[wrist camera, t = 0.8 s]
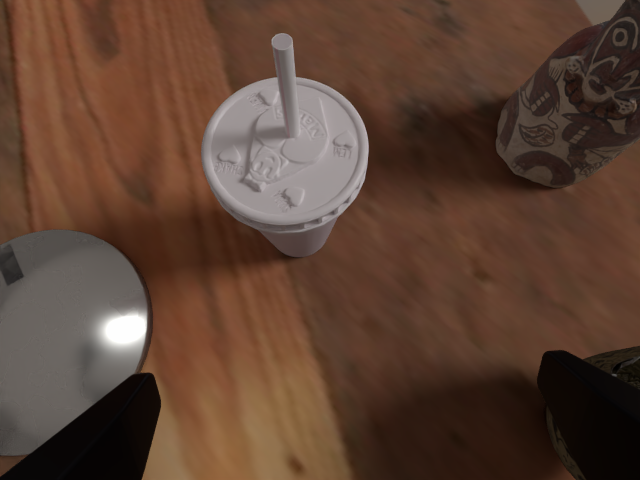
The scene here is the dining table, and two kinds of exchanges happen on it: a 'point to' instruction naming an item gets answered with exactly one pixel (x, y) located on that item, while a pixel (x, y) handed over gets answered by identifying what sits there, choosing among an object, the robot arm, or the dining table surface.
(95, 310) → the pad
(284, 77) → the smoothie
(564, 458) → the cup
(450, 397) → the dining table surface
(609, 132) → the figurine
